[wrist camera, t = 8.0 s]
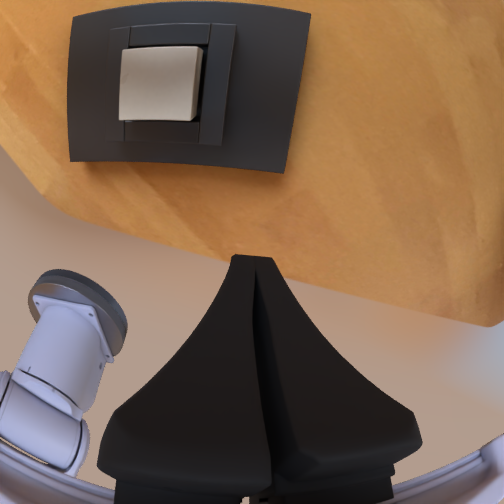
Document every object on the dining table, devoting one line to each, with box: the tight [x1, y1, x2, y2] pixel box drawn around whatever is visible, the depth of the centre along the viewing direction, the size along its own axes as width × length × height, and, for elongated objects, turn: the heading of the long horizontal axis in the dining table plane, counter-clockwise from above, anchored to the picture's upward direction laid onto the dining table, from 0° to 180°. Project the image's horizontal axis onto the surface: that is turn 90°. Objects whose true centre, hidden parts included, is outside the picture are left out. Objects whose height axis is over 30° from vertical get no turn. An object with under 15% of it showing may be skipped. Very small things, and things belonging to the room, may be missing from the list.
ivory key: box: [119, 46, 203, 121], centre depth 11 cm, size 4×4×2 cm
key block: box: [67, 1, 311, 174], centre depth 13 cm, size 10×14×4 cm
